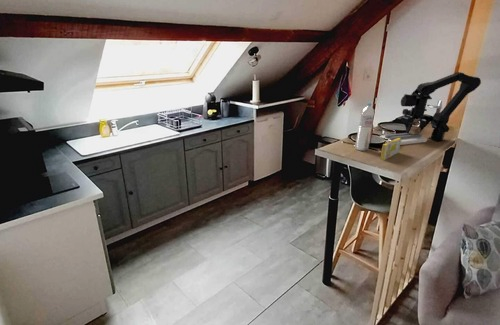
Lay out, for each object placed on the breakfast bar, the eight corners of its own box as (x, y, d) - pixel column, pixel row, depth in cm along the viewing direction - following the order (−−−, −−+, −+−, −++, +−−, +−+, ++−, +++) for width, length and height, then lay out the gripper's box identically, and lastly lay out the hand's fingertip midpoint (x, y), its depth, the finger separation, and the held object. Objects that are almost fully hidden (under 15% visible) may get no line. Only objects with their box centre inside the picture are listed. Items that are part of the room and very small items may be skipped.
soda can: (371, 145, 165) (375, 124, 160) (358, 144, 166) (362, 124, 161) (369, 141, 171) (373, 121, 166) (356, 140, 172) (360, 120, 168)
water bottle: (367, 147, 161) (376, 102, 151) (368, 152, 155) (376, 105, 145) (354, 146, 163) (362, 101, 153) (354, 150, 157) (362, 104, 147)
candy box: (394, 152, 156) (398, 137, 153) (398, 153, 155) (402, 138, 151) (379, 159, 147) (382, 143, 143) (383, 160, 145) (386, 145, 142)
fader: (411, 134, 177) (414, 125, 175) (418, 136, 173) (420, 128, 171) (406, 134, 176) (408, 126, 174) (413, 137, 172) (415, 128, 169)
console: (410, 135, 182) (411, 130, 180) (426, 141, 172) (428, 136, 170) (378, 139, 175) (380, 133, 174) (393, 145, 165) (394, 139, 163)
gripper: (421, 102, 177) (414, 127, 183) (396, 104, 171) (390, 129, 178) (436, 106, 167) (429, 132, 174) (411, 108, 162) (404, 135, 168)
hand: (413, 132), depth 174 cm, fingers open, 9 cm apart
